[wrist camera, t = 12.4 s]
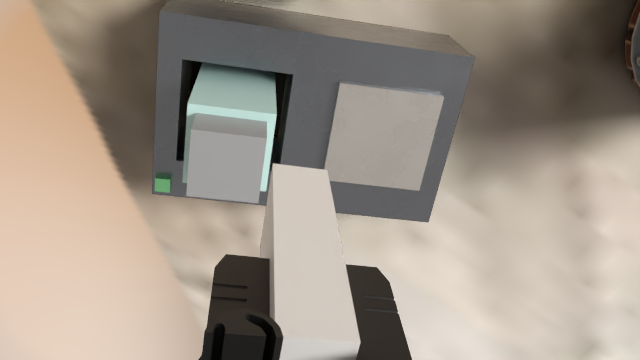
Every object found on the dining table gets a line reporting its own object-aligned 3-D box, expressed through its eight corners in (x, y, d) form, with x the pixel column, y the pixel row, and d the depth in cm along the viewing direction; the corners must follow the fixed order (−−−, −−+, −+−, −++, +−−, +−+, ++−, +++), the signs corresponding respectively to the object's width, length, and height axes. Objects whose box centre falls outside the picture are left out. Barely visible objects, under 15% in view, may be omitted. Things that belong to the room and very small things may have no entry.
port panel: (174, -7, 32) (158, 12, 28) (448, 35, 35) (477, 59, 30) (165, 156, 37) (150, 197, 32) (410, 183, 39) (430, 225, 34)
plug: (206, 52, 34) (181, 119, 24) (274, 61, 35) (277, 130, 25) (201, 116, 36) (176, 203, 26) (266, 124, 36) (265, 212, 27)
